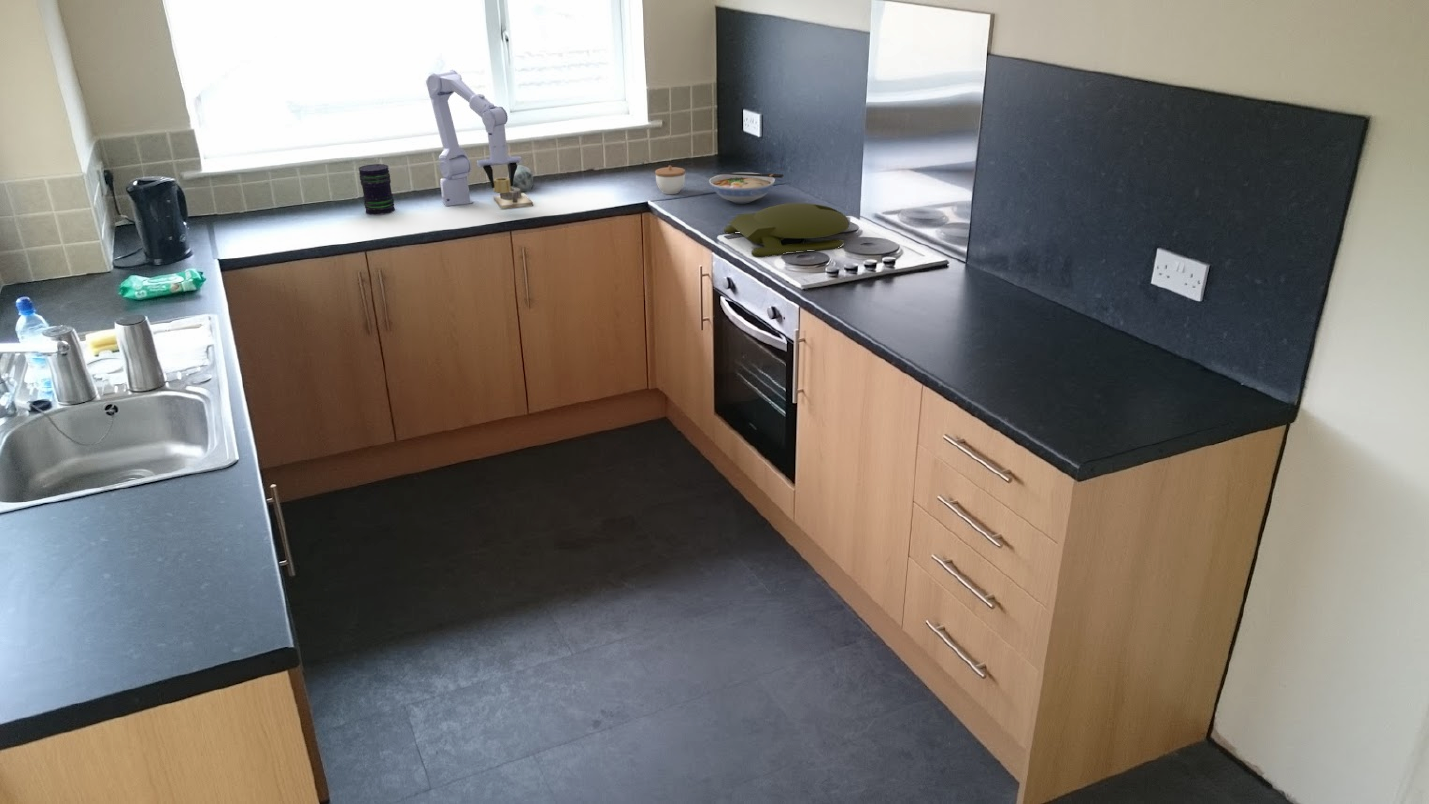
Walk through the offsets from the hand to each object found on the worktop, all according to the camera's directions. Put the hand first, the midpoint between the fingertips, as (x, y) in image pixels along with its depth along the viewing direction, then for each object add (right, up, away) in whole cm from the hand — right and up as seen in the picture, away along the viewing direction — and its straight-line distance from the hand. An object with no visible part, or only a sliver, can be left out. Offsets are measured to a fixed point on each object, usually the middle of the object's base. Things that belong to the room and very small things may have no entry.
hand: (502, 186), depth 346 cm
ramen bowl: (+81, -3, +10) cm, 82 cm away
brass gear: (0, -1, +1) cm, 2 cm away
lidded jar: (+56, +3, +24) cm, 61 cm away
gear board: (+1, -3, +14) cm, 14 cm away
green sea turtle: (+95, -23, -31) cm, 103 cm away
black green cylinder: (-43, -7, +7) cm, 44 cm away
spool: (0, +6, +33) cm, 33 cm away
